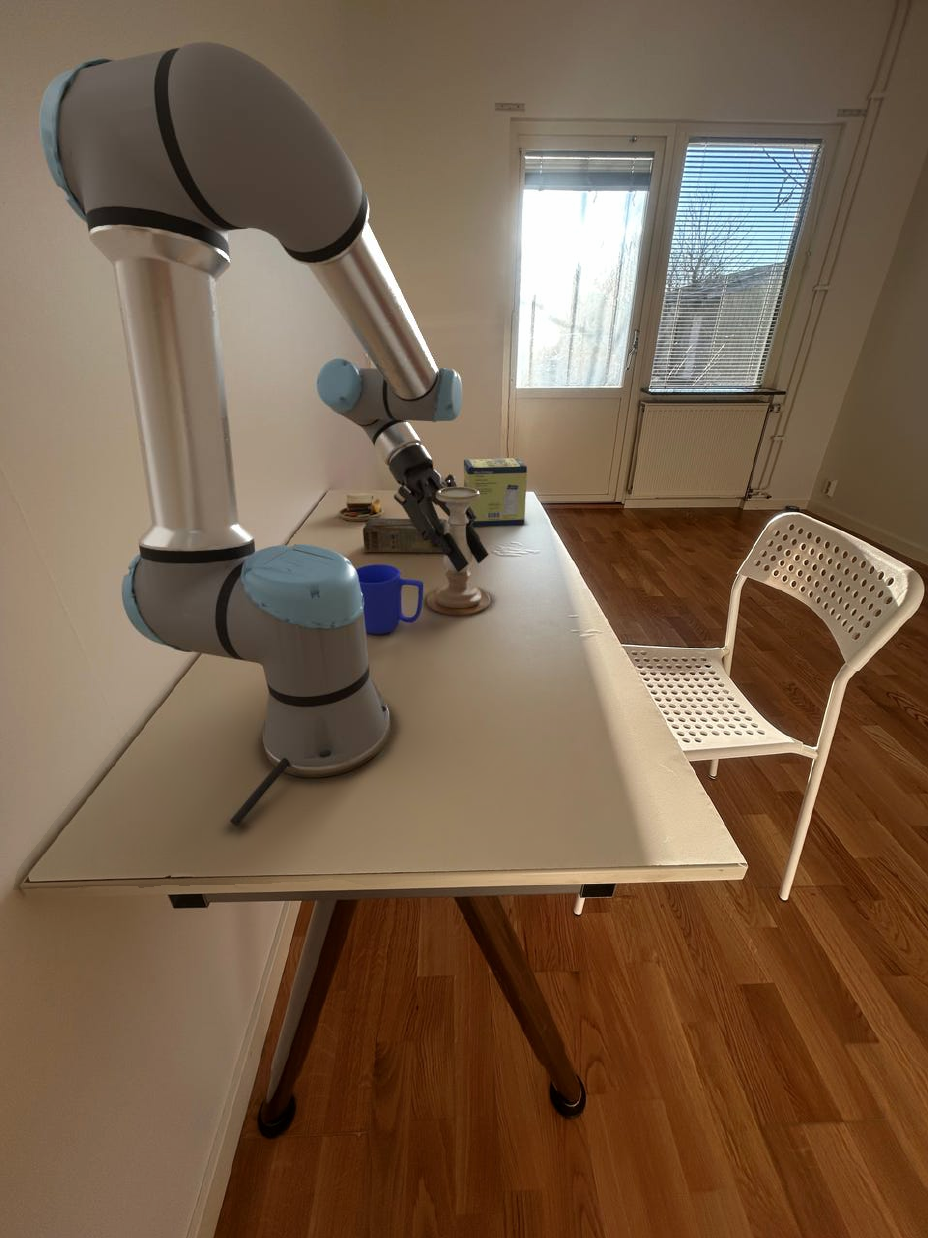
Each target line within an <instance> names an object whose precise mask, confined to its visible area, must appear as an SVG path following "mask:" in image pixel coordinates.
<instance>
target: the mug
mask: <svg viewBox="0 0 928 1238" xmlns="http://www.w3.org/2000/svg"><path fill="white" fill-rule="evenodd" d="M355 569H356V572H357V574H358V578H359V583H360V588H361V592H362V595H363V598H364V609H363V610H364V620H365V630H366V633H367V634H371V635H383V634H389V633H390V632H393V631H394V630H396V629H397V627H398V626H399V625H400V621H401V622H404V623H414V622H416V621H417V620H418V619H419V616H420V615H421V612H422V609H423V602H424V601H423V600H424V581H421V580H418V579H411V578H410V579H409V578H403V577H402V573H401V570H400V569H399V568H398V567H396V566H393V565H390V564H383V563H381V564H378V563H377V564H367V565H363V566H360V567H358V568H355ZM404 586H414V587H417V590H418V591H417V593H418V594H417V607H416V612H415V614H414V615H413V616H411V617H410V616H409V617H407V616H405V615H404V614H403V610H402V607H403V605H402V593H403V592H402V591H403V587H404Z"/></svg>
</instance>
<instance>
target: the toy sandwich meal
mask: <svg viewBox="0 0 928 1238" xmlns="http://www.w3.org/2000/svg"><path fill="white" fill-rule="evenodd" d="M346 498H347V499H346V503H345V504H346V507H343V508H341V509H340V510H339V511H338V512H337V514H338V516H339V517H340V518H342V519H344V520H345V521H348V522H349V521H350V522H367V521H368V519H369V518H380V516H381V515H382V514H383V513H384V509H383V508H382V507H381V502H380V498H376V499H375V501H374V502H373V500H374V494H372V493H367V492H366V493H365V492H364V493H363V492H359V493H357V492H355V493H348V494H347V496H346Z"/></svg>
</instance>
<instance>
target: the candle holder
mask: <svg viewBox="0 0 928 1238" xmlns="http://www.w3.org/2000/svg"><path fill="white" fill-rule="evenodd" d="M479 498H480V493H479V491H478V490H476V489H474V488H469V487H464V486H457V487H447V488H442V489H439V490H438V491H437V492H436V499H438V500H440V501H443V502H446V507H447V508H448V509H449V511H450V517H449V516H448V518H447V520H446V521H447V525H449V533H450V535H451V536H452V538H453V540H454V541H455V543H456V544H457V546H458V547H459V549H460V551H461V552H462V554H463V555H464V557H465V558H466V560H467V562H468V563H469V564H468V565H467V566H466V567H465V568H464V569H462V570H461V571H460V572H457V570H456V569H455V567H454V565H453V564H452V562H451V561H450V559H449V558H448V556H445V555H444V554H443V557H442V560H443V561H442V562H443V564H444V567H445V568H446V569H447V570H446V571H445V574H444V575H445V577H446V578H447V581H448V582H446V583H443V585H441V587H440V588H438V589H436V590H437V591H436V593H435V599H436V601H437V603H439V604H440V605H442V606H445V607H449V608H468V607H472V606H474V605H476V604H478V603H479V602H480V601H481V597H482V595H481V592H480V590H481V589H480V588H477V587H476V586H475V585H474V584H473V583H471V582H468V581H469V579H470V578H471V576H472V571H470V568H471V566H472V565H473V563H474V556H473V555H472V553H471V550H470V548H469V546H468V544H467V540H466V524H467V523H469V520H468V519H467V517H466V510H467V508H468V507H469V506H470V502H473V501H476V500H478V499H479ZM479 589H480V590H479Z"/></svg>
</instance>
